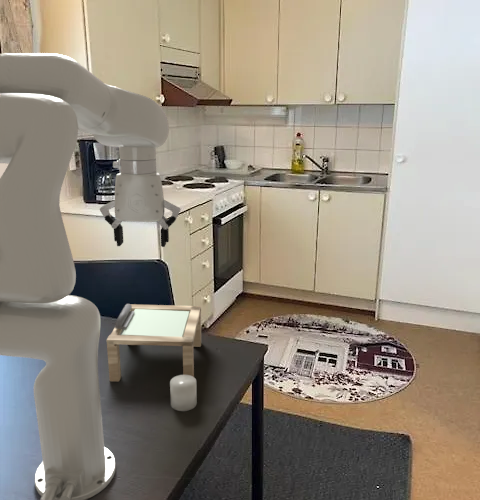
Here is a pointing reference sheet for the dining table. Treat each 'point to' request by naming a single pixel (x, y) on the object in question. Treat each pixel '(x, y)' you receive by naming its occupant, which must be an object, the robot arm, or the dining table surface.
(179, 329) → the trapdoor
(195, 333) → the trapdoor frame
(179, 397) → the stone
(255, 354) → the dining table surface
